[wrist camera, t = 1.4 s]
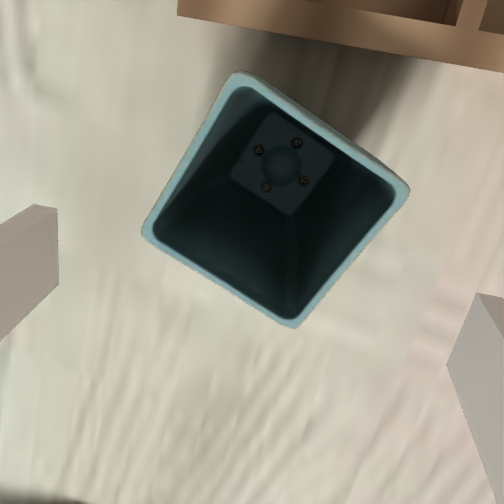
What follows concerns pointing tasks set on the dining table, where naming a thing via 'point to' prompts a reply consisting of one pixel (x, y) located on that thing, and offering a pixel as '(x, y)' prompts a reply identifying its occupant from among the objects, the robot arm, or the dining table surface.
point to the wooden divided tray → (376, 25)
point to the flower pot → (272, 201)
